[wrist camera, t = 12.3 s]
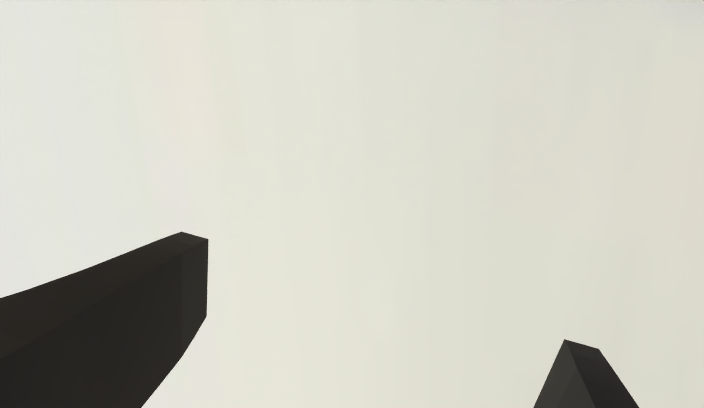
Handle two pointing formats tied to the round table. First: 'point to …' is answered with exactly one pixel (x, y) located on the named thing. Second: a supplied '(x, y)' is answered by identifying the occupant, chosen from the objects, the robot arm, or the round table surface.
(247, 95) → the round table surface
